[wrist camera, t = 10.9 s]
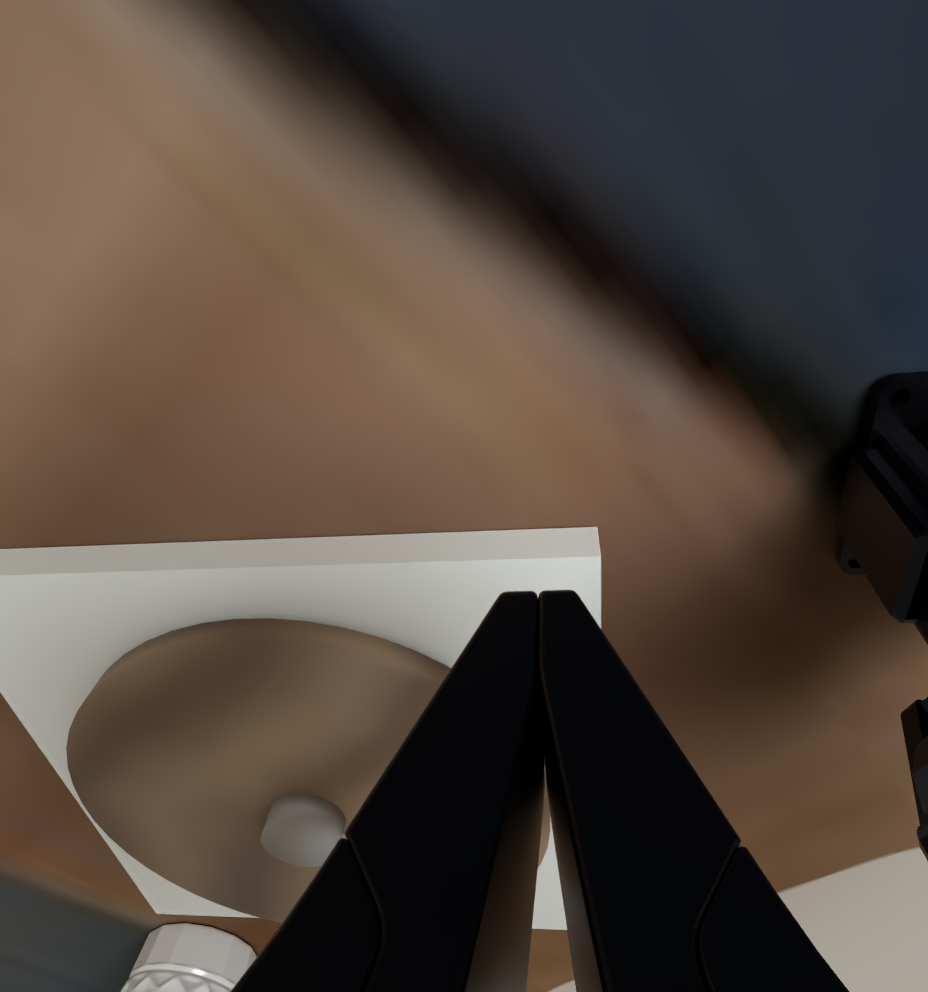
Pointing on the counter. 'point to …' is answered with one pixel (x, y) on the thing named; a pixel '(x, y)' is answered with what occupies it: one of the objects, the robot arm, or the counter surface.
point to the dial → (246, 751)
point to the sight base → (262, 594)
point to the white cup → (189, 960)
